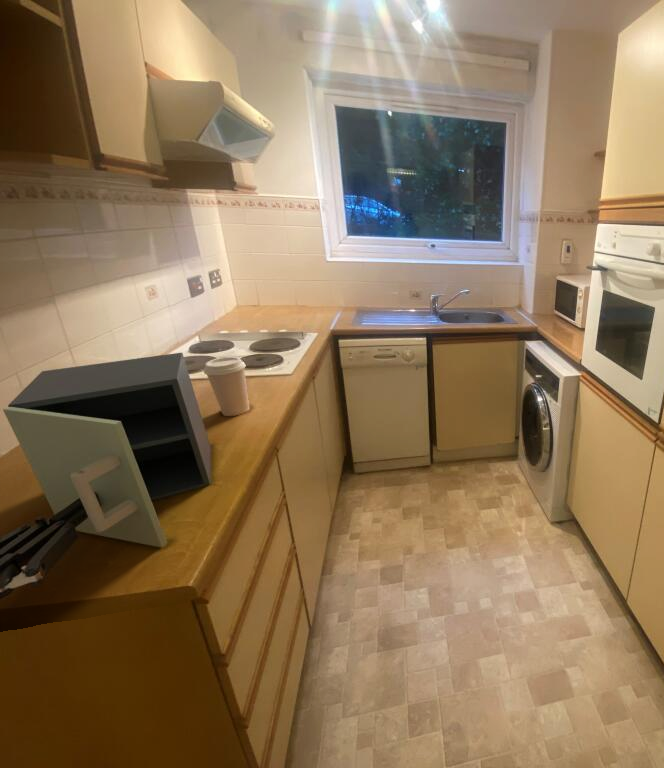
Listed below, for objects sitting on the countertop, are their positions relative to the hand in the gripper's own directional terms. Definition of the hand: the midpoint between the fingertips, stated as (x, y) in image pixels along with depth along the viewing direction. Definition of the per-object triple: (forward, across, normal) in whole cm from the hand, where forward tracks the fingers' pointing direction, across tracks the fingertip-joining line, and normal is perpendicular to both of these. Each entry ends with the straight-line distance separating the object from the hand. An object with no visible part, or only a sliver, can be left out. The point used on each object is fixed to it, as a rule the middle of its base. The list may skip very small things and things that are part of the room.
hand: (93, 499), depth 71 cm
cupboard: (+18, -7, -9) cm, 21 cm away
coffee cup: (+51, -6, -9) cm, 52 cm away
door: (-2, -1, -9) cm, 9 cm away
